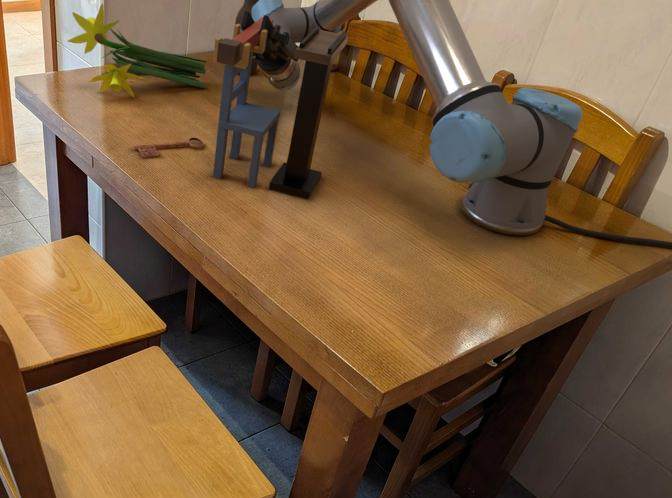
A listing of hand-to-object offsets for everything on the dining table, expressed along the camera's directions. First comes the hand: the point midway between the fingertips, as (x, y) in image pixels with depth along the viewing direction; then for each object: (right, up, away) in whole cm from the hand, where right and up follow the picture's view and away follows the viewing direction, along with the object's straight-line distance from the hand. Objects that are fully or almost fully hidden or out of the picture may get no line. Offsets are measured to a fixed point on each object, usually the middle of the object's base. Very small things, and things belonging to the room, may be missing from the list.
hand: (254, 21), depth 119 cm
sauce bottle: (+25, +20, +66) cm, 73 cm away
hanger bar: (-1, -4, +1) cm, 5 cm away
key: (-16, -19, +15) cm, 29 cm away
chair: (-3, -24, +11) cm, 27 cm away
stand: (+9, -28, +9) cm, 30 cm away
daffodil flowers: (-24, +4, +40) cm, 47 cm away
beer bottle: (+1, +15, +57) cm, 59 cm away
